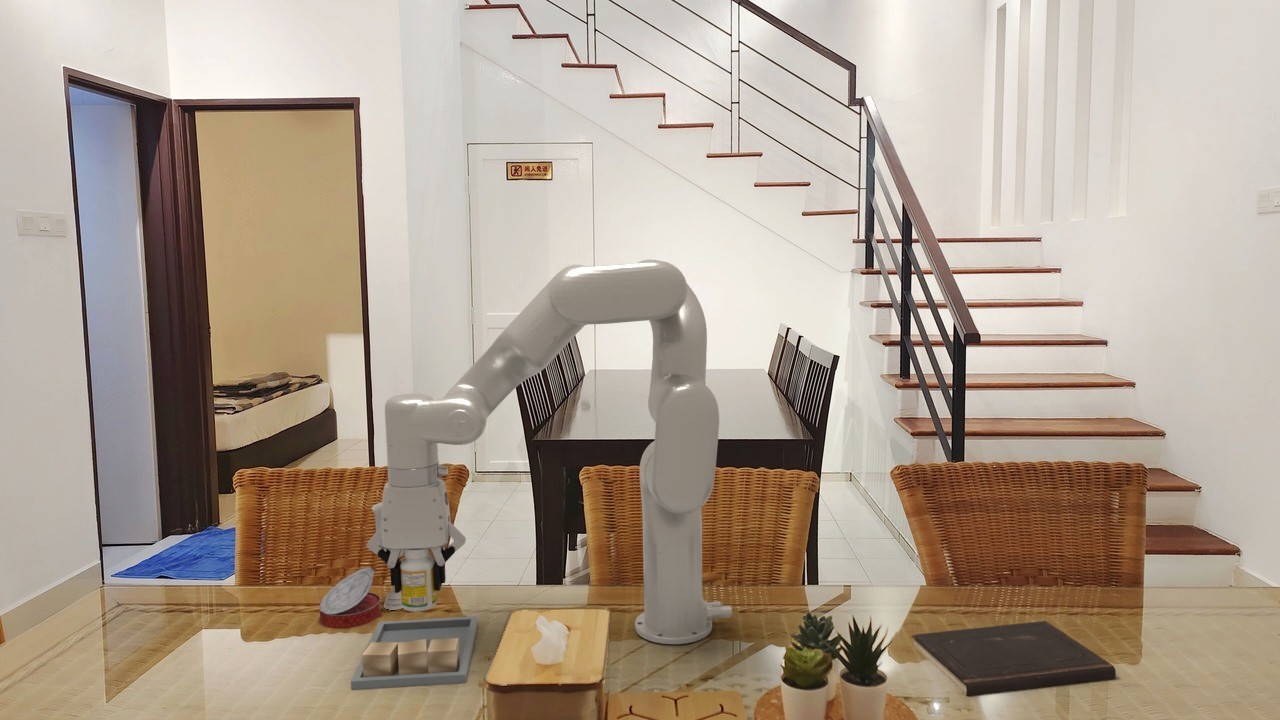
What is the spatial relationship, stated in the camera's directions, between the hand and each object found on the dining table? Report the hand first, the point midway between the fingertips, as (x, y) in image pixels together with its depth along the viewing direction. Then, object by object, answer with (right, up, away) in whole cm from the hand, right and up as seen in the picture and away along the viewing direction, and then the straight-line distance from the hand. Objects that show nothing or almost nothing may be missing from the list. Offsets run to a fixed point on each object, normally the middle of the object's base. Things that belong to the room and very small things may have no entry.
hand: (418, 587), depth 137 cm
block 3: (+6, -10, -7) cm, 14 cm away
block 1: (-3, -11, -8) cm, 14 cm away
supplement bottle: (0, -3, 0) cm, 3 cm away
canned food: (-15, -9, +13) cm, 22 cm away
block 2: (+1, -11, -8) cm, 13 cm away
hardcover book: (+89, -10, -6) cm, 90 cm away
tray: (+1, -10, -2) cm, 11 cm away
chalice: (-8, -8, +19) cm, 22 cm away
